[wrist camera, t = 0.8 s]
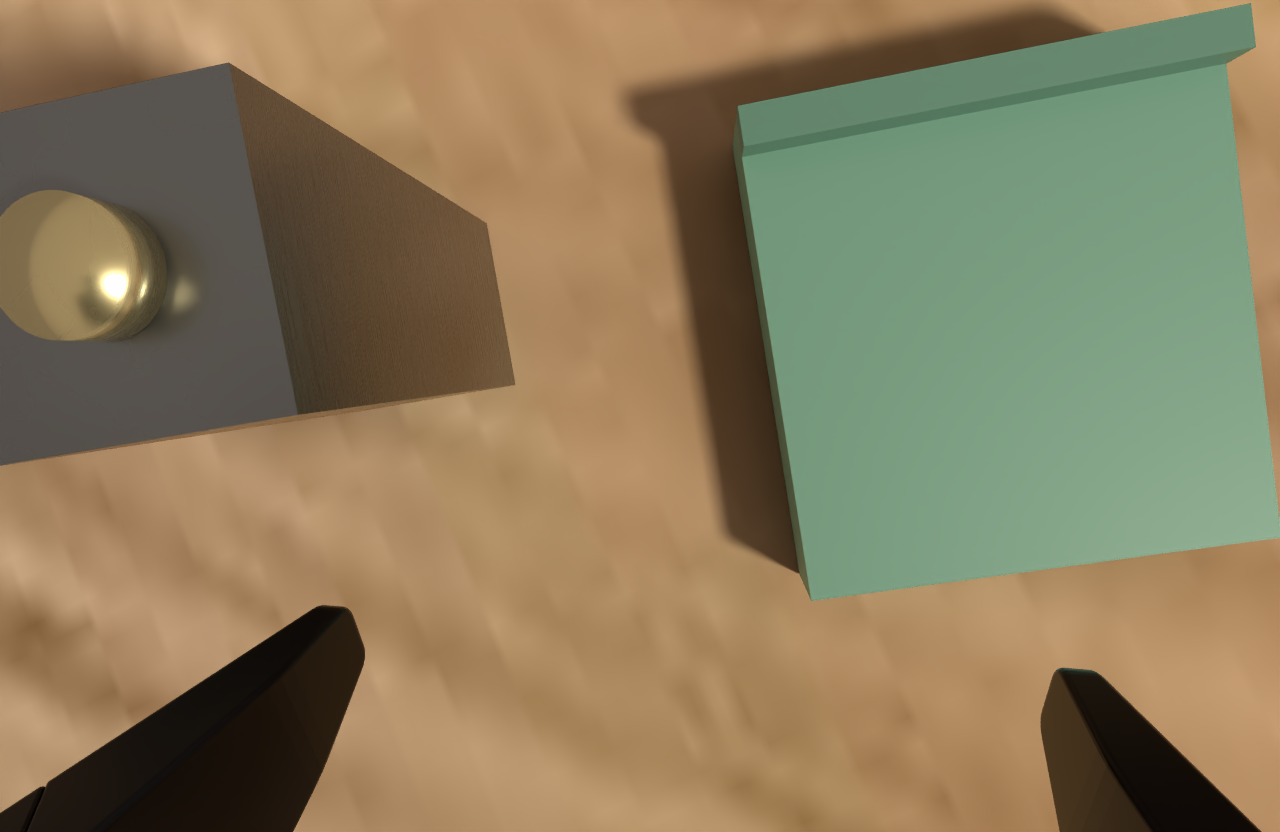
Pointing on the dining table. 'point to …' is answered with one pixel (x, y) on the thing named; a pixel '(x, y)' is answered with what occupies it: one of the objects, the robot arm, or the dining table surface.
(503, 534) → the dining table surface
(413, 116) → the dining table surface
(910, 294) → the coupler stand
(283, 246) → the block
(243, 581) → the dining table surface
